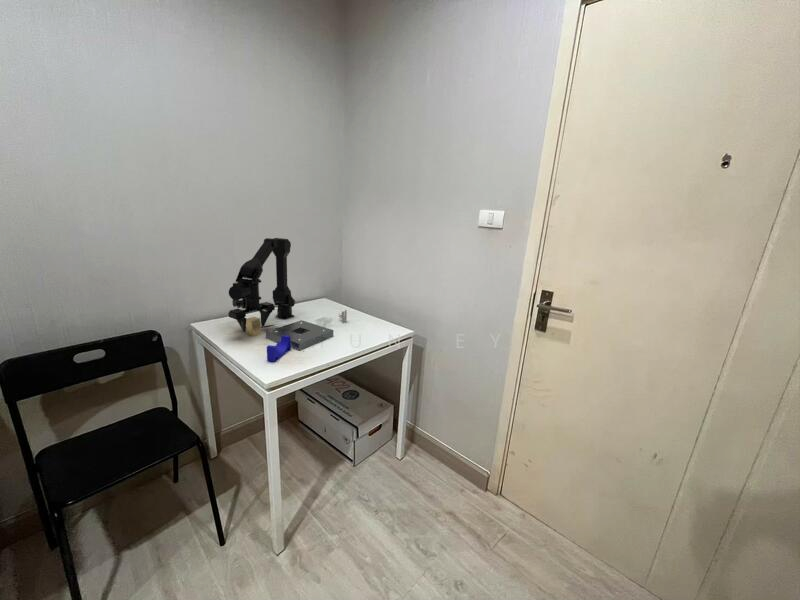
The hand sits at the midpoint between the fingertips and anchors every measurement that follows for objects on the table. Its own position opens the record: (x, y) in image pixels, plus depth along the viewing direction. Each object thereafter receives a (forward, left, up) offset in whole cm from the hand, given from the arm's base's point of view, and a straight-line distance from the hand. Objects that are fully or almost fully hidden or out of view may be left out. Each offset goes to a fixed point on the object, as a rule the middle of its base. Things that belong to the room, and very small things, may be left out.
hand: (253, 328), depth 144 cm
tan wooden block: (0, 0, -2) cm, 2 cm away
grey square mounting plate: (-10, +18, -2) cm, 21 cm away
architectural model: (-33, +16, -3) cm, 37 cm away
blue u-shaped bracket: (+8, +25, -3) cm, 26 cm away
